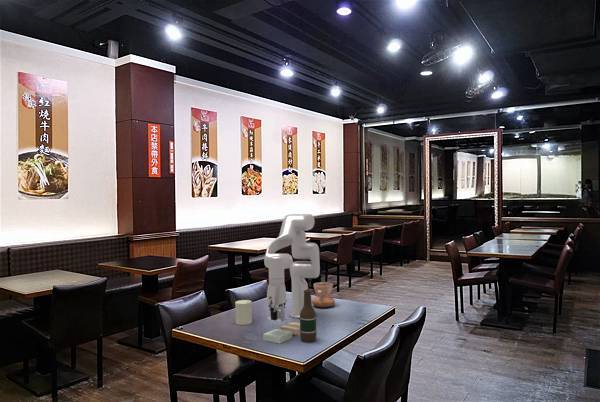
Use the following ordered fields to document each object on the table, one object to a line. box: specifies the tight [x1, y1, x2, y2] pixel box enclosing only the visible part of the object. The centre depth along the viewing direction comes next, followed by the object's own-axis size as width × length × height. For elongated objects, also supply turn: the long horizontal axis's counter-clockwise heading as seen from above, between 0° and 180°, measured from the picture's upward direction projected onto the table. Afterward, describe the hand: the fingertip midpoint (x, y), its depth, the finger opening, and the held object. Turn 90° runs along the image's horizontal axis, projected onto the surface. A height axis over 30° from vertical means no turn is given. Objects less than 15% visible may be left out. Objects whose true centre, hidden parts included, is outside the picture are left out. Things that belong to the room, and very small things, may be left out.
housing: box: [267, 305, 288, 323], centre depth 210 cm, size 5×8×6 cm, turn 55°
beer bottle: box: [299, 289, 317, 343], centre depth 208 cm, size 8×8×24 cm
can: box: [234, 299, 253, 326], centre depth 240 cm, size 9×9×12 cm
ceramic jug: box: [311, 281, 336, 309], centre depth 274 cm, size 18×14×14 cm
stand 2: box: [280, 321, 300, 337], centre depth 222 cm, size 10×10×3 cm
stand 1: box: [262, 328, 293, 345], centre depth 210 cm, size 10×10×3 cm
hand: (277, 318), depth 210 cm, fingers closed on housing, 5 cm apart
